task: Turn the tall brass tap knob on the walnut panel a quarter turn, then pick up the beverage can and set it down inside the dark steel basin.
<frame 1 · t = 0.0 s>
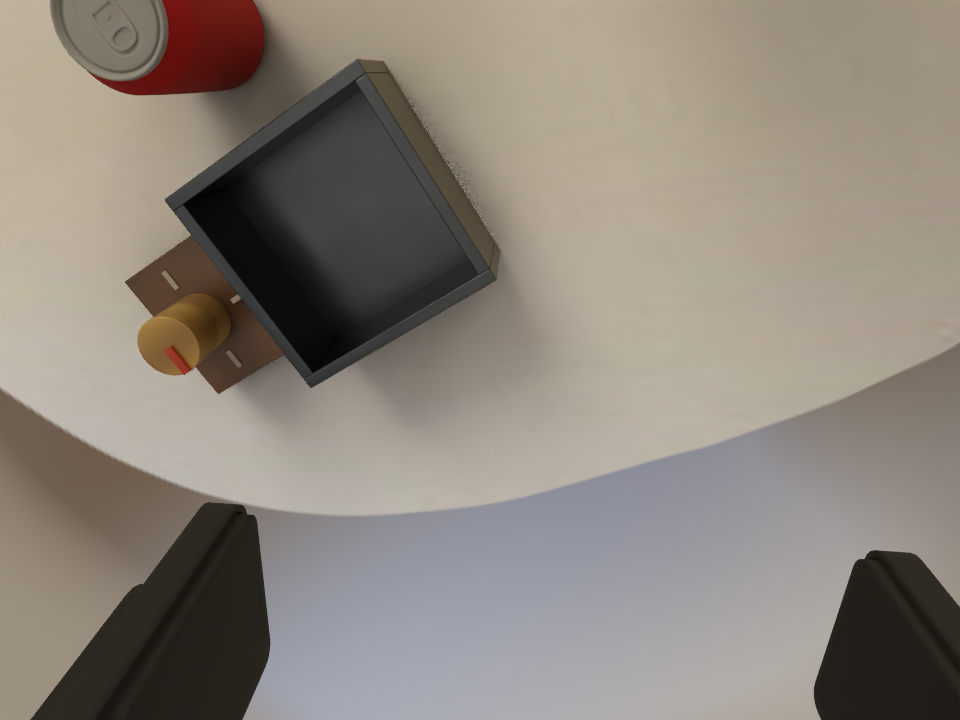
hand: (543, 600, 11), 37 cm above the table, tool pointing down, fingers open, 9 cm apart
beverage can: (217, 33, 42), on the table
tap knob: (185, 333, 45), point 5 cm above the table, hinge at 0.0°
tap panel: (228, 301, 49), on the table
basin: (358, 216, 46), on the table
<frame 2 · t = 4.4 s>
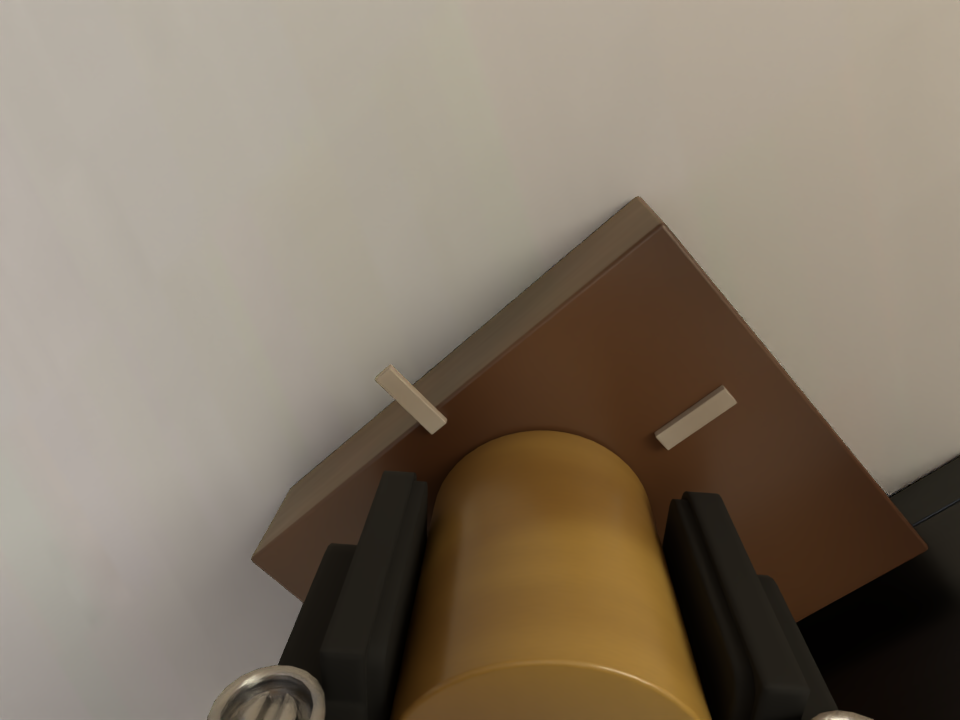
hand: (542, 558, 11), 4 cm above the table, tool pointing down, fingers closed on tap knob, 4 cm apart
tap knob: (544, 634, 10), point 5 cm above the table, hinge at 0.1°, touching gripper
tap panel: (567, 481, 15), on the table
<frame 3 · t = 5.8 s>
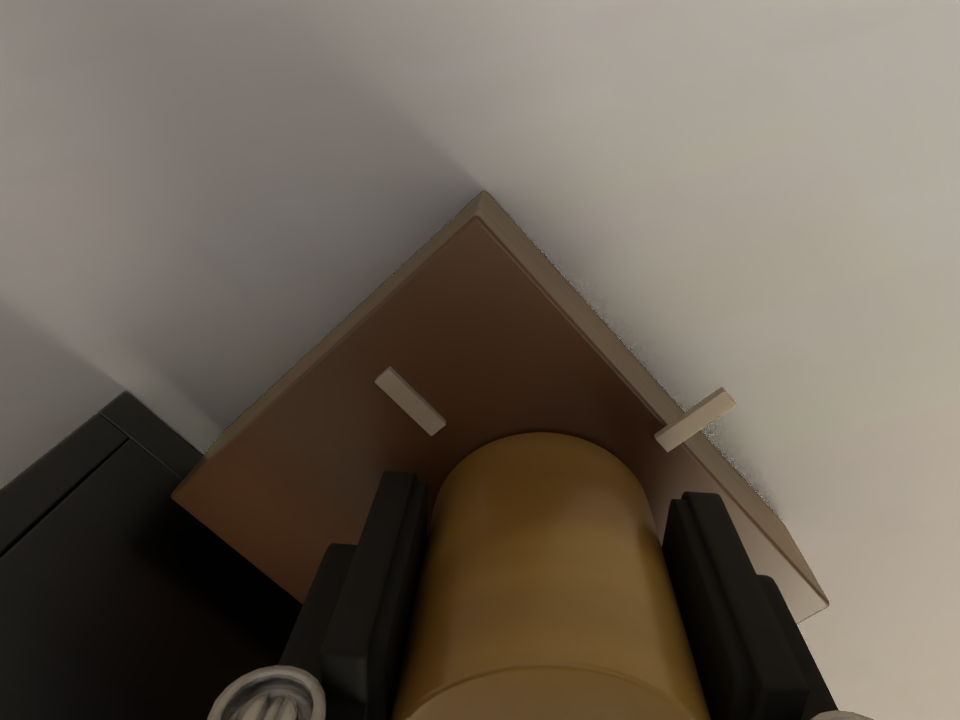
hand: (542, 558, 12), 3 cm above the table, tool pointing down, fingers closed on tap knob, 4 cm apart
tap knob: (544, 636, 10), point 5 cm above the table, hinge at 89.9°, touching gripper
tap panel: (504, 479, 15), on the table
basin: (186, 714, 19), on the table
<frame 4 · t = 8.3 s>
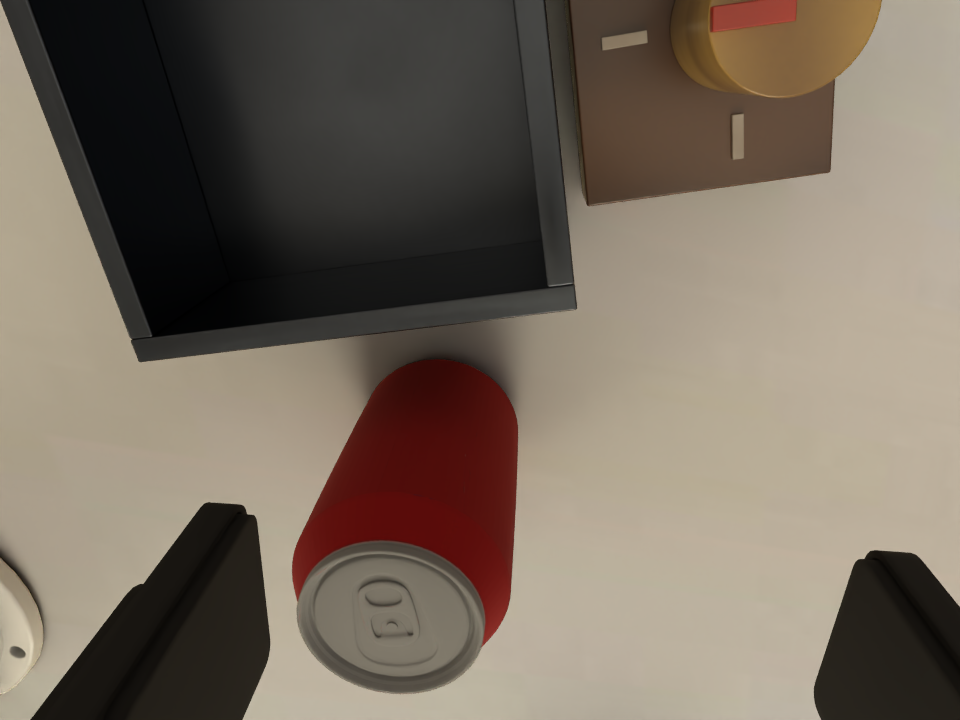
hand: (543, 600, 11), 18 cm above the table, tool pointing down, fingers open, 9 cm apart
beverage can: (443, 418, 30), on the table
tap knob: (763, 15, 18), point 5 cm above the table, hinge at 88.3°
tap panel: (686, 30, 23), on the table
basin: (352, 87, 25), on the table
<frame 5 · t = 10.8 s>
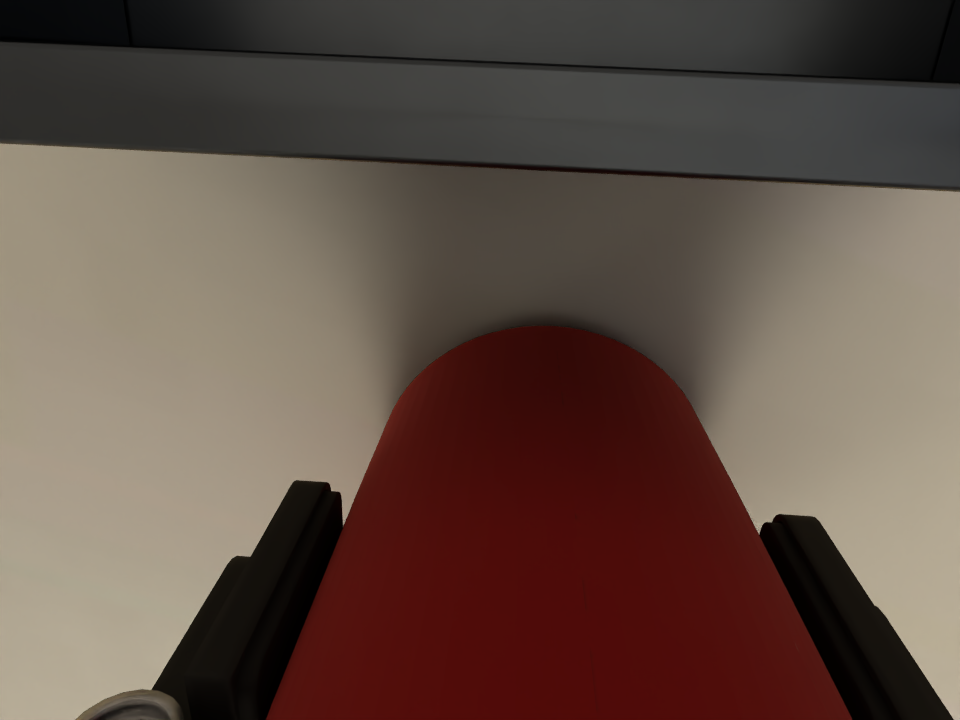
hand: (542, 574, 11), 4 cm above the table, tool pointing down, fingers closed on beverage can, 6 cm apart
beverage can: (539, 451, 15), on the table, touching gripper
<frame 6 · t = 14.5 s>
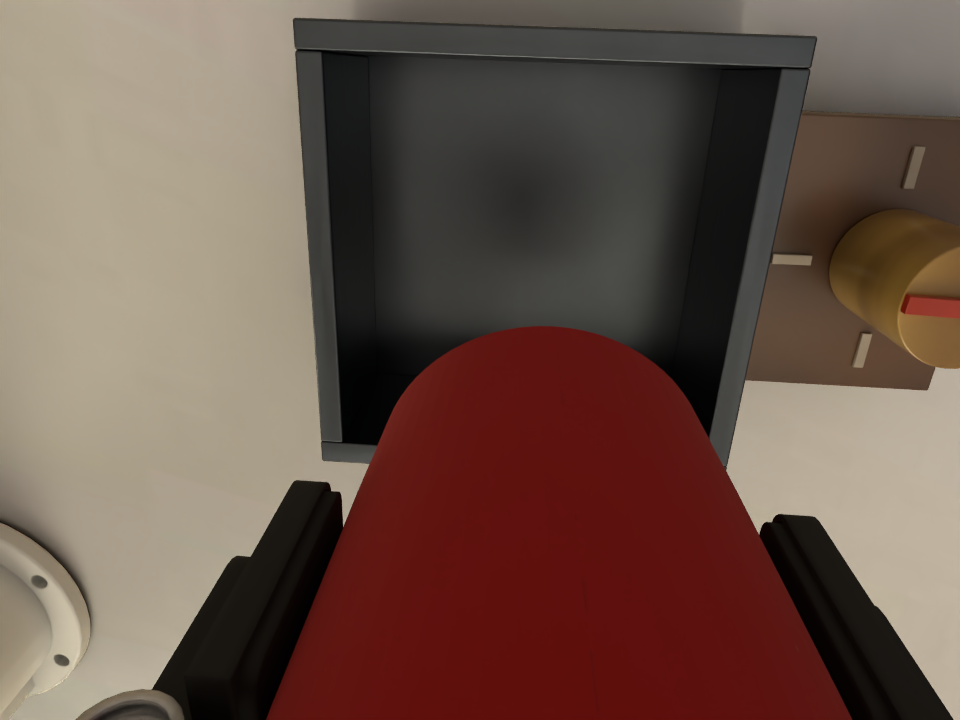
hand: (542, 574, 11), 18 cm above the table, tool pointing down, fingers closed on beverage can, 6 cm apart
beverage can: (539, 452, 15), point 14 cm above the table, touching gripper
tap knob: (925, 284, 22), point 5 cm above the table, hinge at 88.3°
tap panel: (828, 245, 27), on the table
basin: (531, 231, 27), on the table
when the fingers open (5 cm above the table, at t = 18.2 s): beverage can stays where it is, resting on basin.
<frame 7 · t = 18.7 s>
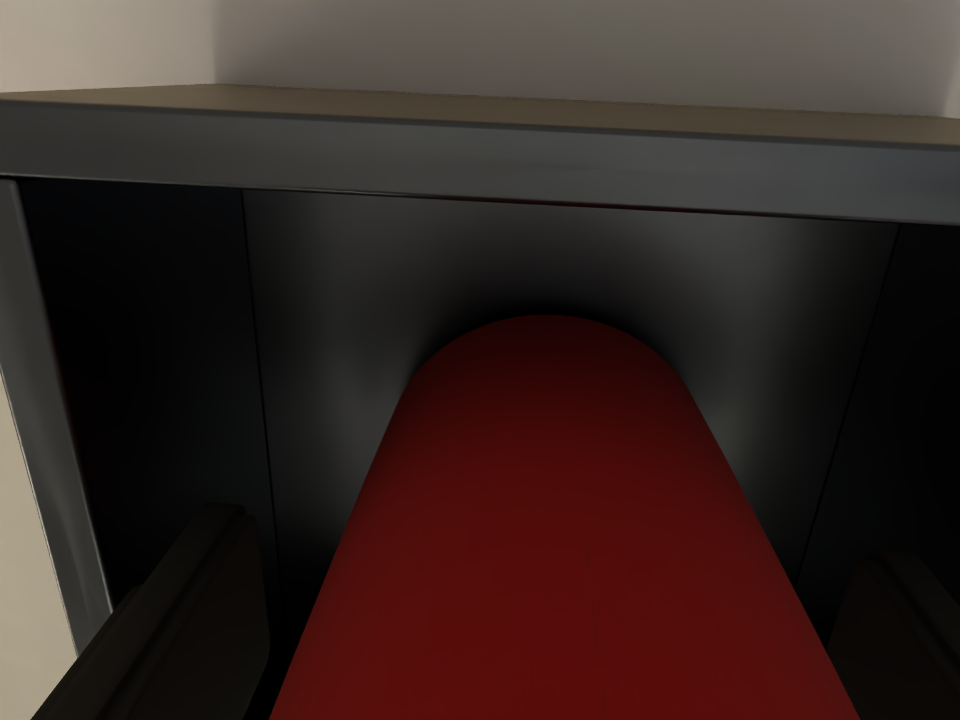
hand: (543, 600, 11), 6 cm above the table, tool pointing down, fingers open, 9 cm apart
beverage can: (542, 438, 15), point 1 cm above the table, touching basin
basin: (542, 421, 16), on the table
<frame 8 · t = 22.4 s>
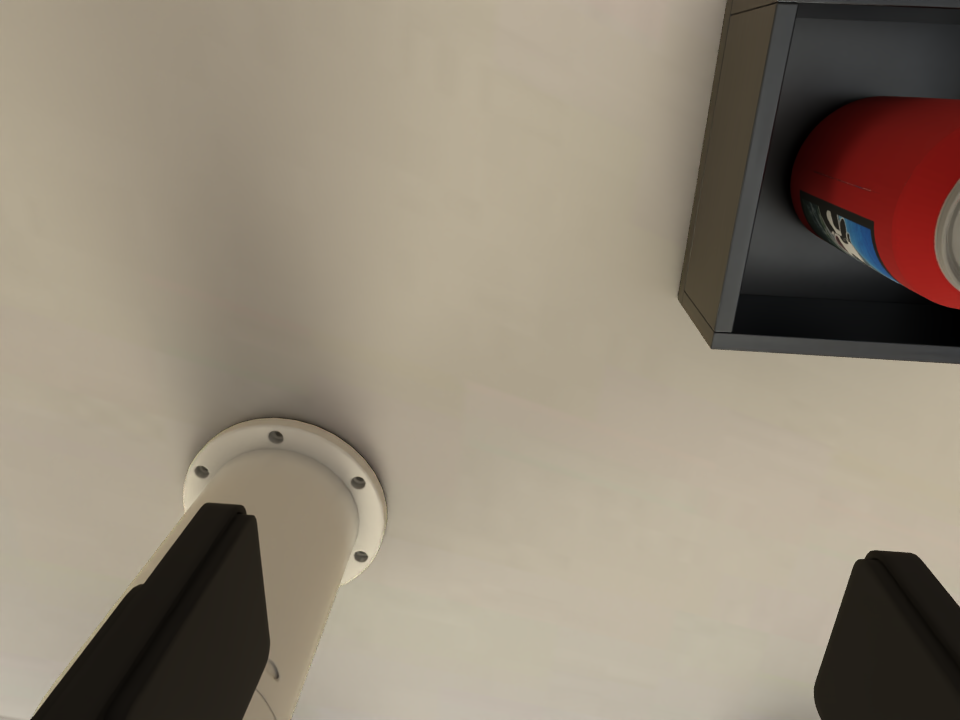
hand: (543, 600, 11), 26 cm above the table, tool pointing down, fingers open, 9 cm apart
beverage can: (855, 170, 32), point 1 cm above the table, touching basin
basin: (848, 168, 33), on the table
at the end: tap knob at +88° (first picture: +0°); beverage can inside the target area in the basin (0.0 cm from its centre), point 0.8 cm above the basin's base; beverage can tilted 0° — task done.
